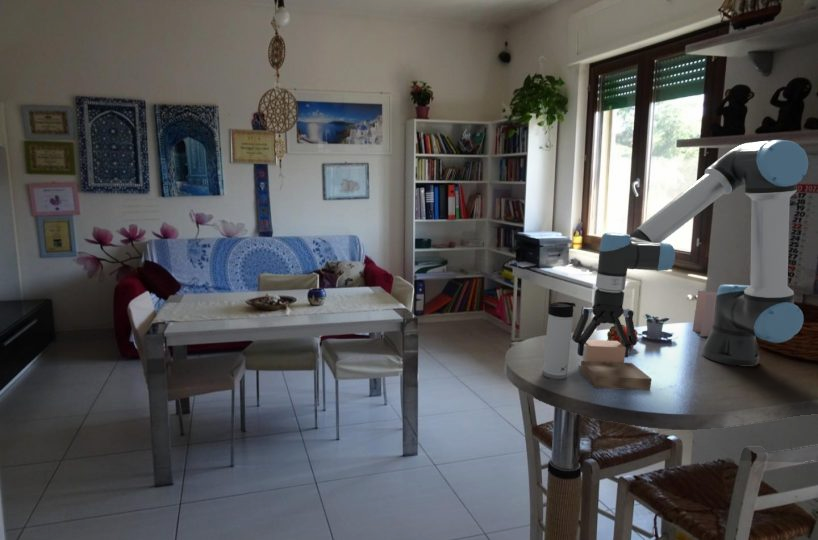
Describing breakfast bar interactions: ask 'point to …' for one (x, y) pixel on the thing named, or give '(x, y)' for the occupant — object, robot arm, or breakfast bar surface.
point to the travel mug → (558, 340)
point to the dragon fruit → (615, 337)
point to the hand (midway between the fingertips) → (601, 367)
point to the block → (605, 351)
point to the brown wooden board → (615, 375)
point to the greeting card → (704, 312)
